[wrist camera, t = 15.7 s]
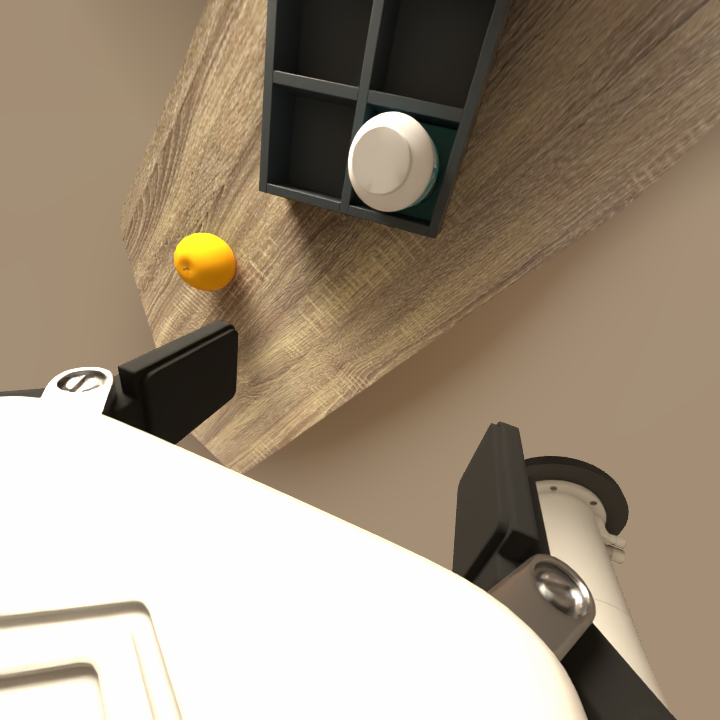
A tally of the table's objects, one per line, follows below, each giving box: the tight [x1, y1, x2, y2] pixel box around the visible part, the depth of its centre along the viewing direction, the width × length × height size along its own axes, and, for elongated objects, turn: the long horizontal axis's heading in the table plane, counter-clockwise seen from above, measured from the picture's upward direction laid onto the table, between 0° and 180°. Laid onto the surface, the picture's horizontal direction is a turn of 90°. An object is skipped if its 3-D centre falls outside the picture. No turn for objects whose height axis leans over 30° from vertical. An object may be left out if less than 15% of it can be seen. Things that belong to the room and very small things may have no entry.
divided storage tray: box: [259, 0, 514, 238], centre depth 34 cm, size 21×21×6 cm
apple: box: [174, 233, 236, 291], centre depth 47 cm, size 8×8×8 cm
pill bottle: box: [348, 112, 441, 212], centre depth 31 cm, size 8×7×14 cm
